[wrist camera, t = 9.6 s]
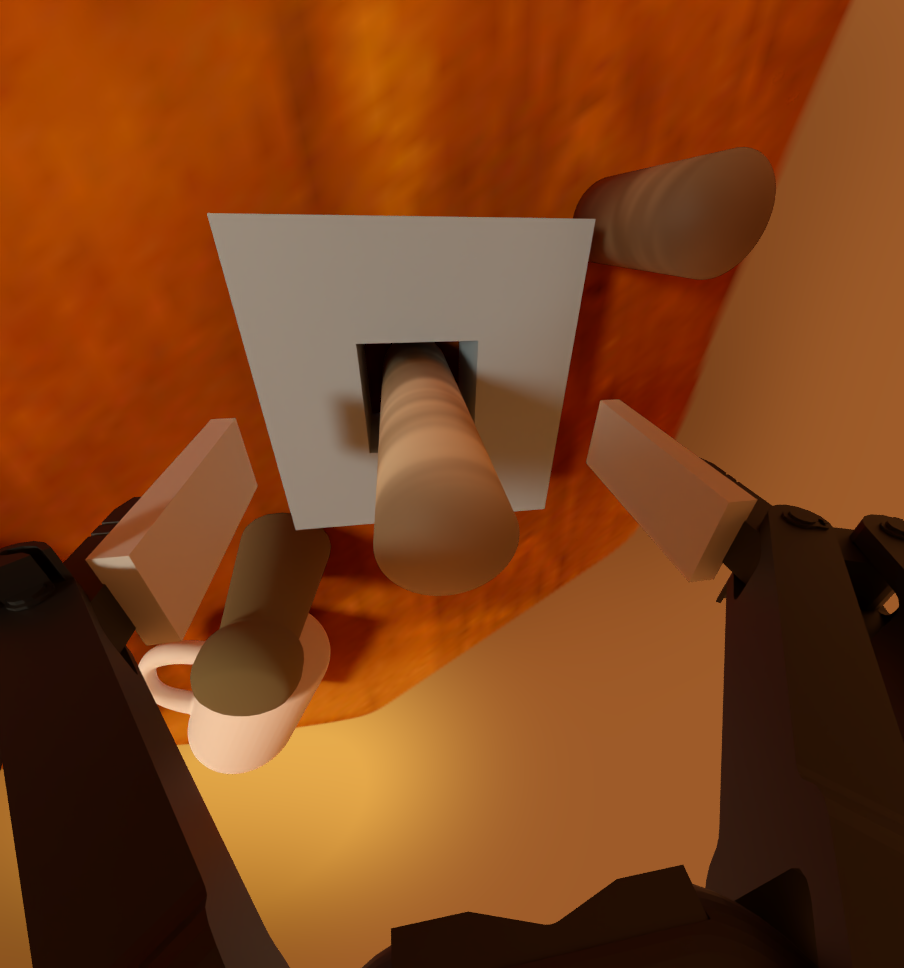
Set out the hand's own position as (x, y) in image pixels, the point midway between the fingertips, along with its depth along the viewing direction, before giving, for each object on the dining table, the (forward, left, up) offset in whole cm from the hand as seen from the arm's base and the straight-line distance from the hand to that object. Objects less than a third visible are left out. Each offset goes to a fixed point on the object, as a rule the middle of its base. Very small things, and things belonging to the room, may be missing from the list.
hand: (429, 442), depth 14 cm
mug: (+22, -15, -9) cm, 28 cm away
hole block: (0, 0, -9) cm, 9 cm away
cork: (+12, -10, -9) cm, 18 cm away
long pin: (0, 0, -9) cm, 9 cm away
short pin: (-7, +10, -9) cm, 15 cm away
